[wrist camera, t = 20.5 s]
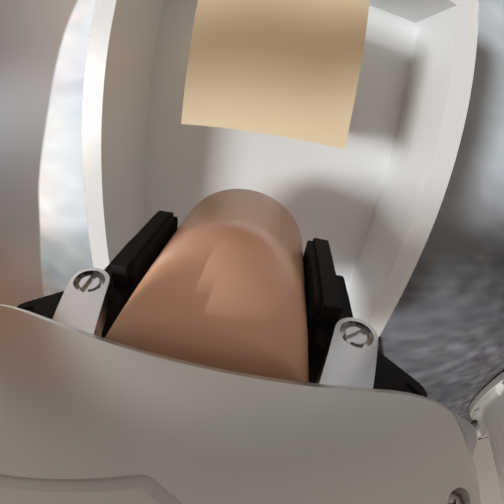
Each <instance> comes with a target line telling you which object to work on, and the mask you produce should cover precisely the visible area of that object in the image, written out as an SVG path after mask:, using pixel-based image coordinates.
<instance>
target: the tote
mask: <svg viewBox="0 0 504 504" xmlns="http://www.w3.org/2000/svg"><path fill="white" fill-rule="evenodd" d="M365 1H369V2H370V3H369V12H368V20H367V28H366V35H365V42H364V49H363V55H362V62H361V68H360V74H359V79H358V85H357V91H356V96H355V101H354V106H353V112H352V117H351V122H350V126H349V131H348V136H347V140H346V145H345V149H340V148H336V147H332V146H327V145H323V144H318V143H314V142H309V141H304V140H299V139H293V138H288V137H282V136H277V135H271V134H264V133H258V132H251V131H244V130H236V129H228V128H220V127H211V126H200V125H189V124H181V120H182V109H183V99H184V90H185V81H186V73H187V65H188V57H189V50H190V44H191V37H192V31H193V25H194V19H195V13H196V8H197V2H198V0H96V5H95V9H94V14H93V19H92V25H91V30H90V36H89V43H88V50H87V58H86V67H85V77H84V89H83V107H82V165H83V183H84V197H85V207H86V217H87V225H88V233H89V240H90V247H91V254H92V260H93V265H94V268H99V269H102V270H104V269H105V268H106V267H107V266H108V265H109V264H110V262H111V261H112V260H113V259H114V258H115V257H116V256H117V254H118V253H119V252H120V251H121V250H122V249H123V248H124V246H125V245H126V244H127V243H128V242H129V241H130V240H131V239H132V238H133V237H134V236H135V235H136V234H137V233H138V232H139V231H140V230H141V229H142V228H143V227H144V226H145V224H146V223H147V222H148V221H149V220H150V219H151V218H152V217H153V216H154V215H155V214H156V213H157V212H158V211H159V210H160V211H167V212H173V214H174V216H175V217H177V218H178V228H179V226H180V225H181V224H182V222H183V221H184V220H185V218H186V217H187V216H188V214H189V213H190V212H191V210H192V209H193V208H194V207H195V206H196V205H197V204H198V203H199V202H200V201H201V200H203V199H204V198H206V197H207V196H209V195H211V194H214V193H216V192H219V191H223V190H228V189H248V190H253V191H257V192H260V193H263V194H265V195H267V196H269V197H271V198H273V199H275V200H276V201H278V202H279V203H280V204H282V205H283V206H284V207H285V208H286V209H287V210H288V211H289V212H290V214H291V215H292V216H293V218H294V219H295V221H296V223H297V225H298V227H299V230H300V233H301V237H302V246H303V255H304V251H305V248H306V244H307V241H308V240H310V241H312V240H313V238H319V239H324V240H328V242H329V246H330V250H331V254H332V259H333V263H334V267H335V272H336V275H340V276H343V277H344V280H345V284H346V288H347V292H348V297H349V301H350V305H351V310H352V314H353V318H357V319H361V320H363V321H365V322H367V323H368V324H369V325H371V326H372V327H373V328H374V330H375V331H376V333H377V335H378V337H379V336H380V334H381V332H382V330H383V329H384V327H385V325H386V323H387V322H388V320H389V318H390V316H391V314H392V313H393V311H394V309H395V307H396V305H397V303H398V301H399V299H400V298H401V296H402V294H403V292H404V290H405V288H406V286H407V284H408V282H409V280H410V277H411V275H412V273H413V271H414V269H415V267H416V265H417V263H418V260H419V258H420V256H421V254H422V251H423V249H424V247H425V244H426V242H427V240H428V237H429V235H430V232H431V230H432V227H433V225H434V222H435V220H436V217H437V214H438V212H439V209H440V206H441V203H442V201H443V198H444V195H445V192H446V189H447V186H448V183H449V180H450V177H451V173H452V170H453V167H454V163H455V160H456V156H457V153H458V149H459V145H460V141H461V137H462V133H463V129H464V125H465V120H466V116H467V111H468V106H469V100H470V95H471V89H472V83H473V76H474V68H475V59H476V49H477V36H478V0H365Z"/></svg>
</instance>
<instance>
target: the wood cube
mask: <svg viewBox="0 0 504 504" xmlns="http://www.w3.org/2000/svg"><path fill="white" fill-rule="evenodd" d="M369 3H370V2H369V1H365V0H198V2H197V8H196V13H195V19H194V25H193V31H192V37H191V44H190V50H189V57H188V65H187V73H186V81H185V90H184V99H183V109H182V120H181V124H189V125H200V126H211V127H220V128H228V129H236V130H244V131H251V132H258V133H264V134H271V135H277V136H282V137H288V138H293V139H299V140H304V141H309V142H314V143H318V144H323V145H327V146H332V147H336V148H340V149H345V145H346V140H347V136H348V131H349V126H350V122H351V117H352V112H353V106H354V101H355V96H356V91H357V85H358V79H359V74H360V68H361V62H362V55H363V49H364V42H365V35H366V28H367V20H368V12H369Z"/></svg>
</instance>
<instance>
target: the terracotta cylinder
mask: <svg viewBox="0 0 504 504" xmlns="http://www.w3.org/2000/svg"><path fill="white" fill-rule="evenodd" d="M105 338H106V339H109V340H112V341H115V342H118V343H121V344H125V345H128V346H131V347H135V348H138V349H142V350H145V351H149V352H153V353H156V354H160V355H164V356H168V357H172V358H176V359H180V360H184V361H188V362H192V363H197V364H201V365H206V366H210V367H215V368H220V369H225V370H230V371H236V372H241V373H247V374H252V375H258V376H264V377H271V378H278V379H285V380H292V381H300V382H309V366H308V333H307V310H306V291H305V274H304V259H303V246H302V237H301V233H300V230H299V227H298V225H297V223H296V221H295V219H294V218H293V216H292V215H291V214H290V212H289V211H288V210H287V209H286V208H285V207H284V206H283V205H282V204H280V203H279V202H278V201H276V200H275V199H273V198H271V197H269V196H267V195H265V194H263V193H260V192H257V191H253V190H248V189H228V190H223V191H219V192H216V193H214V194H211V195H209V196H207V197H206V198H204V199H203V200H201V201H200V202H199V203H198V204H197V205H196V206H195V207H194V208H193V209H192V210H191V212H190V213H189V214H188V216H187V217H186V218H185V220H184V221H183V222H182V224H181V225H180V226H179V228H178V229H177V230H176V232H175V233H174V235H173V236H172V237H171V239H170V240H169V241H168V243H167V244H166V246H165V247H164V248H163V250H162V251H161V253H160V254H159V256H158V257H157V258H156V260H155V261H154V263H153V264H152V266H151V267H150V268H149V270H148V271H147V273H146V274H145V276H144V277H143V279H142V280H141V282H140V283H139V285H138V286H137V288H136V289H135V291H134V292H133V294H132V295H131V297H130V298H129V300H128V301H127V303H126V304H125V306H124V308H123V309H122V311H121V312H120V314H119V315H118V317H117V319H116V320H115V322H114V323H113V325H112V327H111V328H110V330H109V331H108V333H107V335H106V336H105Z"/></svg>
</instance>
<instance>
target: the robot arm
mask: <svg viewBox="0 0 504 504" xmlns="http://www.w3.org/2000/svg"><path fill="white" fill-rule="evenodd" d="M177 229H178V218H177V217H175V216H174V214H173V212H167V211H160V210H159V211H158V212H157V213H156V214H155V215H154V216H153V217H152V218H151V219H150V220H149V221H148V222H147V223H146V224H145V226H144V227H143V228H142V229H141V230H140V231H139V232H138V233H137V234H136V235H135V236H134V237H133V238H132V239H131V240H130V241H129V242H128V243H127V244H126V245H125V246H124V248H123V249H122V250H121V251H120V252H119V253H118V254H117V256H116V257H115V258H114V259H113V260H112V261H111V262H110V264H109V265H108V266H107V267H106V268H105V269H104V270H102V269H99V268H87V269H83V270H81V271H78V272H77V273H75V274H74V275H73V276H72V277H71V279H70V280H69V283H68V285H67V287H66V289H65V291H63V292H59V293H56V294H52V295H49V296H45V297H43V298H39V299H35V300H32V301H28V302H25V303H23V304H20V305H19V306H17V307H13V306H8V305H0V504H480V495H479V487H478V480H477V476H476V470H475V466H474V461H473V457H472V455H473V452H474V449H475V446H476V442H477V439H478V438H479V437H481V438H484V437H487V436H488V437H489V441H490V444H491V448H492V452H493V456H494V461H495V465H496V469H497V474H498V479H499V484H500V490H501V497H502V503H503V504H504V371H503V372H502V373H501V374H499V375H498V376H497V377H496V378H494V379H493V380H492V381H491V382H490V383H489V384H488V385H487V386H486V387H484V388H483V389H482V390H481V391H480V393H479V394H478V395H477V396H476V397H475V398H474V400H473V401H472V403H471V405H470V407H469V414H470V417H471V418H472V419H474V420H477V422H478V423H477V424H476V425H475V428H474V427H473V425H472V424H470V423H469V422H468V421H466V420H465V419H463V418H462V417H460V416H458V415H457V414H455V413H454V412H453V411H452V410H451V409H450V408H448V407H447V406H445V405H444V404H442V403H440V402H438V401H435V400H434V399H430V398H428V397H427V393H426V391H425V390H424V388H423V387H422V386H421V385H420V384H419V383H418V382H417V381H416V380H414V379H413V378H412V377H411V376H409V375H408V374H407V373H405V372H404V371H403V370H402V369H400V368H399V367H398V366H397V365H395V364H394V363H393V362H391V361H390V360H389V359H388V358H386V357H385V356H384V355H383V354H381V353H380V352H379V351H377V350H378V335H377V333H376V331H375V330H374V328H373V327H372V326H371V325H369V324H368V323H367V322H365V321H363V320H361V319H357V318H353V314H352V310H351V305H350V301H349V297H348V292H347V288H346V284H345V280H344V277H343V276H340V275H336V272H335V267H334V263H333V259H332V254H331V250H330V246H329V242H328V240H324V239H319V238H313V240H312V241H310V240H308V241H307V244H306V248H305V251H304V255H303V259H304V274H305V291H306V310H307V333H308V366H309V382H300V381H292V380H285V379H278V378H271V377H264V376H258V375H252V374H247V373H241V372H236V371H230V370H225V369H220V368H215V367H210V366H206V365H201V364H197V363H192V362H188V361H184V360H180V359H176V358H172V357H168V356H164V355H160V354H156V353H153V352H149V351H145V350H142V349H138V348H135V347H131V346H128V345H125V344H121V343H118V342H115V341H112V340H109V339H106V338H105V336H106V335H107V333H108V331H109V330H110V328H111V327H112V325H113V323H114V322H115V320H116V319H117V317H118V315H119V314H120V312H121V311H122V309H123V308H124V306H125V304H126V303H127V301H128V300H129V298H130V297H131V295H132V294H133V292H134V291H135V289H136V288H137V286H138V285H139V283H140V282H141V280H142V279H143V277H144V276H145V274H146V273H147V271H148V270H149V268H150V267H151V266H152V264H153V263H154V261H155V260H156V258H157V257H158V256H159V254H160V253H161V251H162V250H163V248H164V247H165V246H166V244H167V243H168V241H169V240H170V239H171V237H172V236H173V235H174V233H175V232H176V230H177Z"/></svg>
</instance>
